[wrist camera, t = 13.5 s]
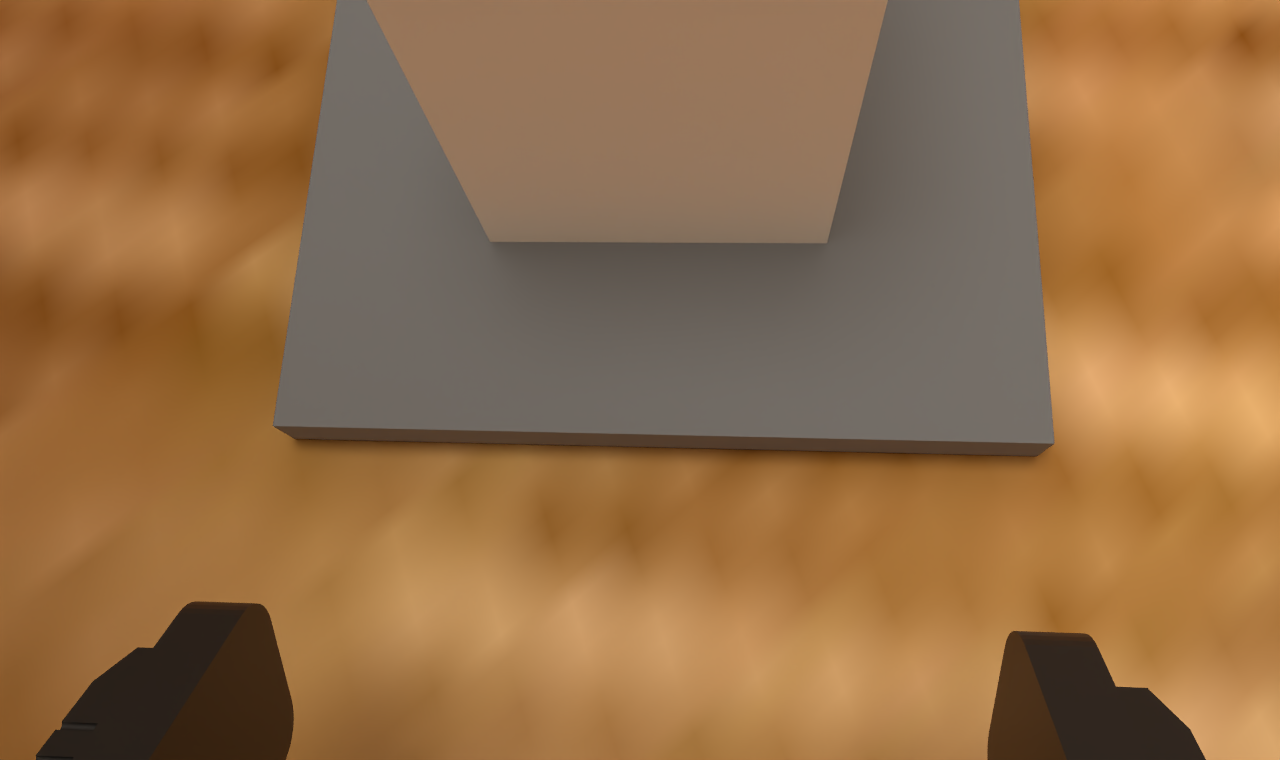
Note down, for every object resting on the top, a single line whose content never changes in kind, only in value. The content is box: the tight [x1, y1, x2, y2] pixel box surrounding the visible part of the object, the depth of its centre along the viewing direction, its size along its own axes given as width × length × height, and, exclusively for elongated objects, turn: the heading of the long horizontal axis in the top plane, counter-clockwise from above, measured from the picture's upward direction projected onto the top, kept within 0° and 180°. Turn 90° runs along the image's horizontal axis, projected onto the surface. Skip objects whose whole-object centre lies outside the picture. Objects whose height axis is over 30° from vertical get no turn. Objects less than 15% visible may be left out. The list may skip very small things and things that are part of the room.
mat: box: [273, 0, 1054, 456], centre depth 20 cm, size 14×14×1 cm
